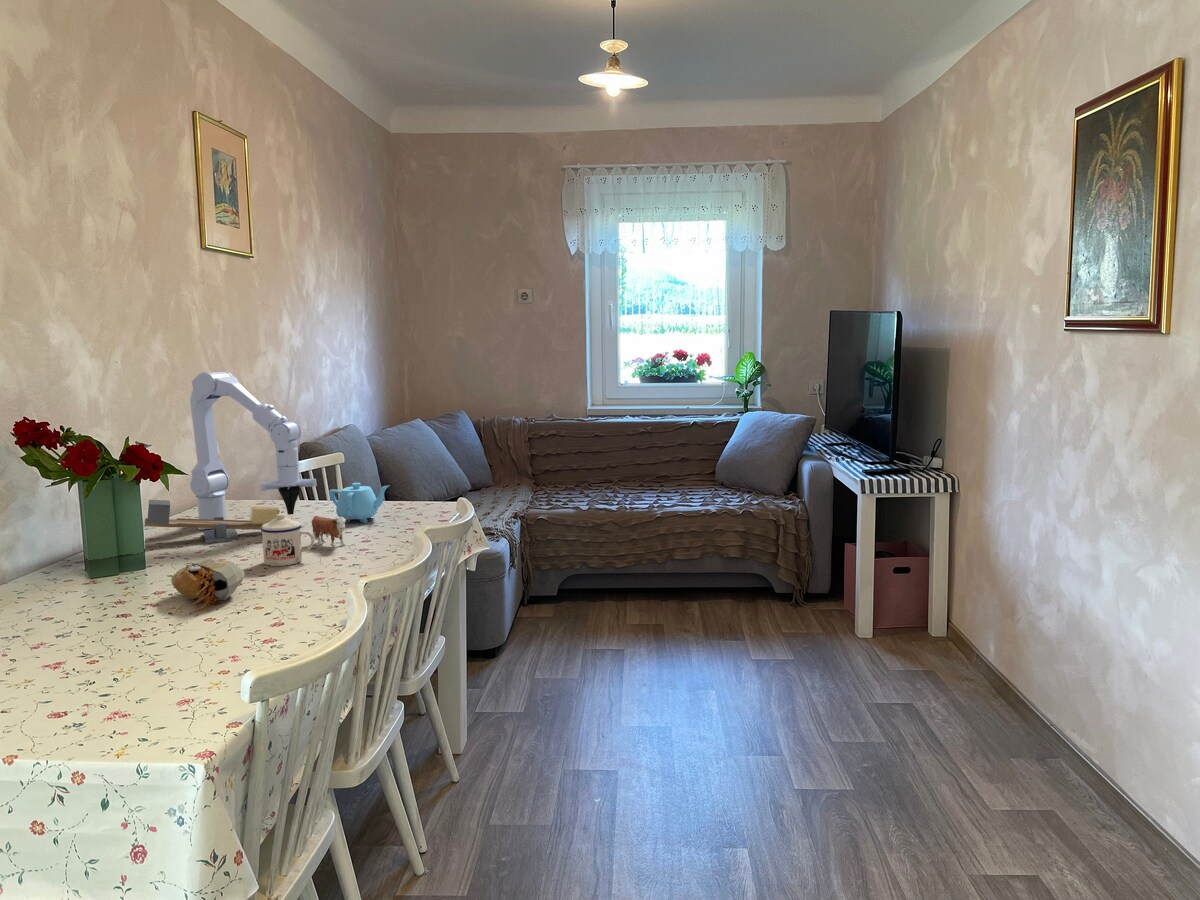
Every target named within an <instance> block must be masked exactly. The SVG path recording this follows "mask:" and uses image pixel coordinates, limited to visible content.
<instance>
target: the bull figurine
mask: <svg viewBox="0 0 1200 900" xmlns="http://www.w3.org/2000/svg"><path fill="white" fill-rule="evenodd" d="M349 520H350V521H351V519H349V518H347V519H344V518H343V517H339V516H337V517H325V516H324V517H323V516H318V515H315V516H314V517H313V519H312V520H311V527H312V534H313V535H314V539H315V540H314V541H316V540H317V544H318V546H323V545H324V543H325V542H326V540H325V539H324V535H325V537H326V538H329V536H330V540H331V543H330V547H331V546H332V547H331V548H335V547H336V545H335V542H334V541H335V539H339V541H340V545H341V547H345V546H344V545H346V544H345V542H344V536H343V532H344V531H345V530H346V526H345V525H346V523H345V522H348V521H349ZM322 542H324V543H322ZM334 546H335V547H334Z"/></svg>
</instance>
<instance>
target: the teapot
mask: <svg viewBox="0 0 1200 900" xmlns="http://www.w3.org/2000/svg"><path fill="white" fill-rule="evenodd" d="M389 487H390V485H384V486H382V487H381V488H380V489H379V494H378V497H376V495H375V493H374V491H373V489H372V487H371V486H369V485H368V486H367V485H361V482H353V483H351V486H347V487H344V488H343V489H341V490H340V489H330V490H329V491H328V495H329V498H330V499H331V501H332V503H333V504H334V506H336V507H335V510H336V511H335V513H336V515H337V517H343V518H344V519H347V518H349V519H350V520H349V521H348V522H349V523H350V522H351V520H359V522H367V521H368V520H369V519H367V518H371V517H375V515H376V514H377V513H378V510H379V508H380V507H381V506H382V504H383V503H384V498H385V497H384V496H385V492H386V489H387V488H389ZM335 494H339V497H338V498H336V496H335ZM368 522H369V521H368ZM368 522H367V523H368ZM345 524H347V523H346V522H345Z"/></svg>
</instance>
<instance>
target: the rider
mask: <svg viewBox="0 0 1200 900" xmlns="http://www.w3.org/2000/svg"><path fill="white" fill-rule="evenodd" d="M277 514H281V513H280V509H279V507H272V506H271V507H269V506H250V515H249V516H250V517H249V521H250V524H251V525H264V524H266V523H269V522H270V521H271V520H273V519H276V515H277Z"/></svg>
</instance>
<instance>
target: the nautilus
mask: <svg viewBox="0 0 1200 900" xmlns="http://www.w3.org/2000/svg"><path fill="white" fill-rule="evenodd" d="M245 574H246V573H245V571H244V570H243V569H242V568H241V567H240V566H239V565H237V564H236V563H234V562H233V561H230V560H229V561H228V560H218V559H213V558H208V559H203V560H199V561H196V562H195V561H194V562H192V563H191V564H188V565H187V566H184V567H182V568H181V569H178V570H177V571H176V572H175V573H174V574H173V575H172V577H171V585H172V586H173V587H174V588H175V589H176V592H178V593H179V594H181V595H182V596H184V597H185V598H186V599H188V600H193V599H197V600H195V601H193V602H192V603H190V604H188V607H191V606H193V605H195V604H197V603H200V602H201V601H204V602H203V603H201V604H200V605H199V606H197V607H195V608H194V611H190V612H189V613H196V612H199V611H202V610H203V611H204V612H205V611H206V608H208V607H213V605H215V603H216V602H218V601H225V600H227V598H229V597H230V596H231V595H232V594H234V593H235V592H236V590H237V589H238V587H239V586H240V584H242V582H243V579H244V578H245ZM189 613H188V614H189Z"/></svg>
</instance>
